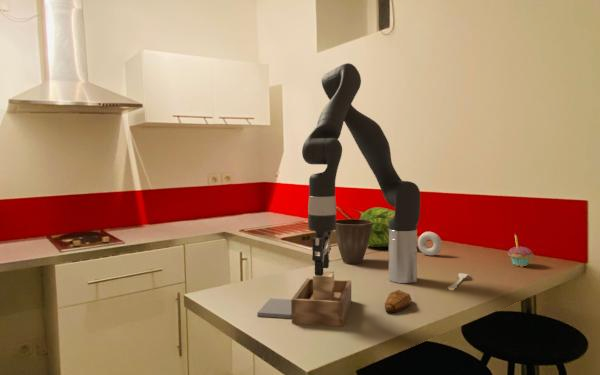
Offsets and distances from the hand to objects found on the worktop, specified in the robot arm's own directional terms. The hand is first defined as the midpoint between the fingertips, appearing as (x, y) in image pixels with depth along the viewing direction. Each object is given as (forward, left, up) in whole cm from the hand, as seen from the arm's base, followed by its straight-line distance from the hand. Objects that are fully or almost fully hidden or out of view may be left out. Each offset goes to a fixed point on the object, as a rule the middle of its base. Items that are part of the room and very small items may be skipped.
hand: (321, 271), depth 125 cm
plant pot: (-3, -57, -11) cm, 58 cm away
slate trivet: (+11, +2, -11) cm, 16 cm away
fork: (-40, -34, -11) cm, 53 cm away
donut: (-33, -73, -11) cm, 81 cm away
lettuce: (-14, -86, -11) cm, 88 cm away
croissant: (-20, -6, -11) cm, 24 cm away
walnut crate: (-1, +1, -11) cm, 11 cm away
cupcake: (-65, -61, -11) cm, 89 cm away
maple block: (-1, 0, -8) cm, 8 cm away
